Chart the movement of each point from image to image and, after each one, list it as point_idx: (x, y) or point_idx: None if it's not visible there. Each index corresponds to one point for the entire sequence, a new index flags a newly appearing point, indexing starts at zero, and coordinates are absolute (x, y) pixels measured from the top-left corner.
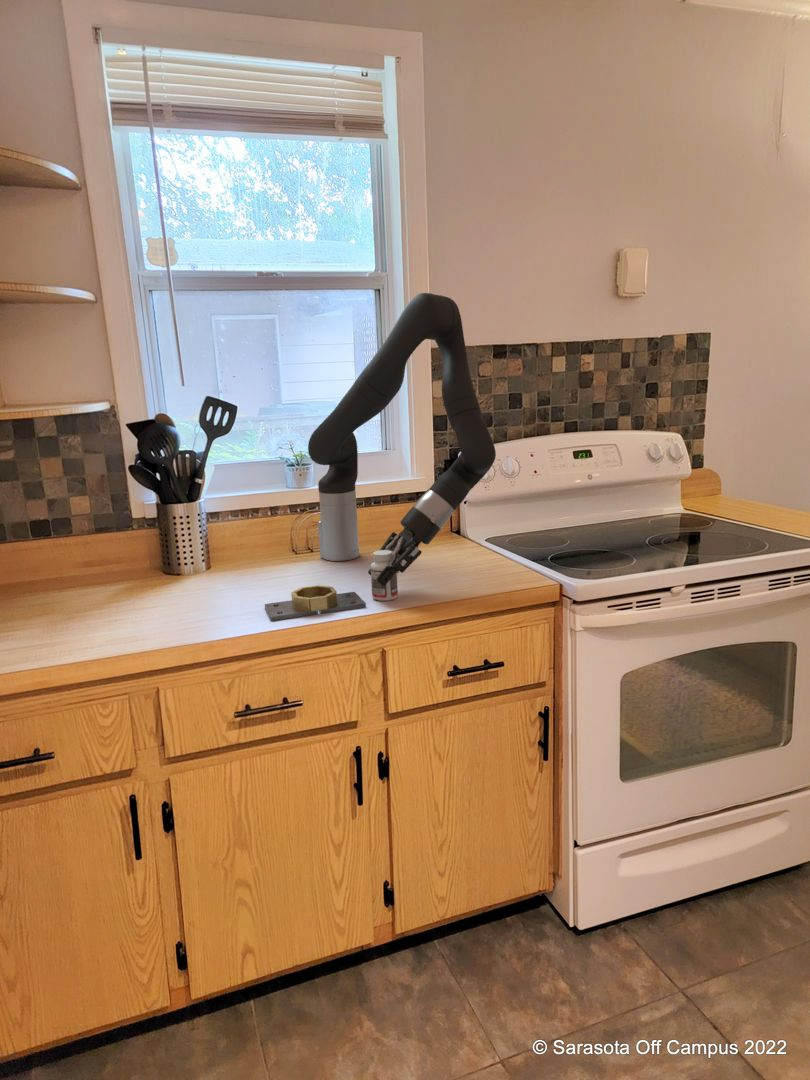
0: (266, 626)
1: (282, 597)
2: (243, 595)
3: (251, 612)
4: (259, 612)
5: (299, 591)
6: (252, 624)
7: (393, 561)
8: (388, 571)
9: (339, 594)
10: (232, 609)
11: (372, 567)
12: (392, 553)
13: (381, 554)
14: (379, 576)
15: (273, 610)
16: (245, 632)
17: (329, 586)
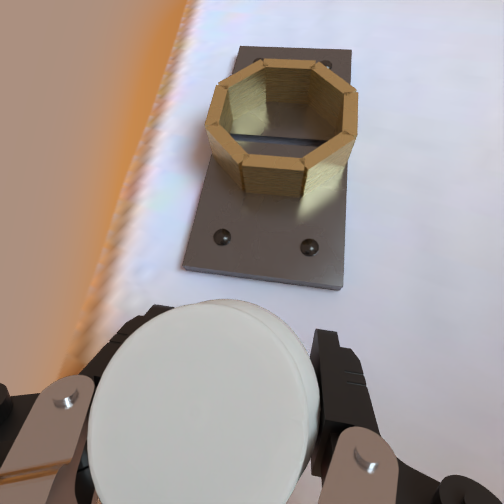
0: (214, 45)
1: (426, 105)
2: (489, 40)
3: (329, 37)
4: (320, 48)
5: (327, 85)
6: (245, 29)
7: (26, 427)
8: (88, 364)
9: (334, 227)
10: (375, 13)
11: (215, 300)
12: (41, 487)
13: (125, 355)
14: (146, 316)
15: (286, 56)
16: (207, 16)
17: (316, 162)
